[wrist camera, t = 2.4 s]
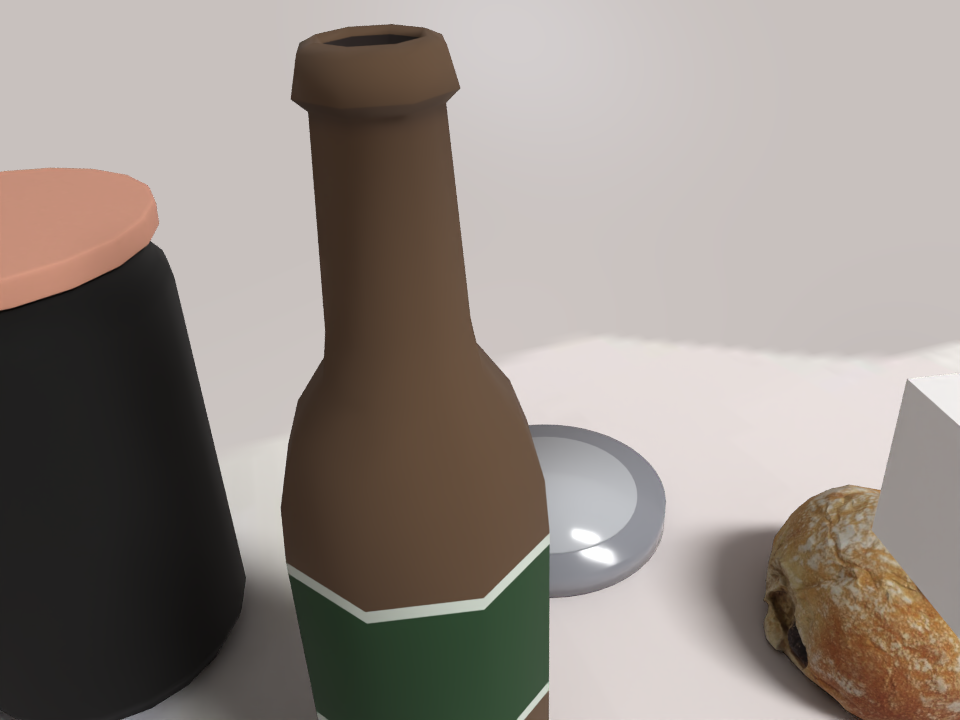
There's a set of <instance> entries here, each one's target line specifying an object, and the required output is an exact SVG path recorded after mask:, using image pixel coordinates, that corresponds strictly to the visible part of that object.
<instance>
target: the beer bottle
mask: <svg viewBox="0 0 960 720" xmlns="http://www.w3.org/2000/svg"><path fill="white" fill-rule="evenodd" d="M459 89H460V85H459V82H458V79H457V76H456V73H455V69H454V66H453V63H452V60H451V56H450V53H449V50H448V47H447V44H446V42H445V40H444V38H443V36H442V34H440V33H437V32H435V31H432V30H429V29H427V28H423V27H413V26H403V25H393V24H389V25H372V26H356V27H346V28H341V29H337V30H333V31H328V32H323V33H319V34H315V35H313V36H312V37H310V38H308V39H306V40H304V41H302V42H301V43H300V44H299V47H298V50H297V53H296V59H295V68H294V76H293V84H292V93H291V100H292V101H294V102H295V103H297V104H298V105H299V106H301V107H302V108H303V109H305V110H306V111H308V116H309V129H310V142H311V154H312V167H313V180H314V191H315V192H314V193H315V205H316V219H317V231H318V243H319V256H320V270H321V283H322V295H323V308H324V321H325V350H324V358H323V360H322V361H321V363H320V365H319V367H318V368H317V370H316V371H315V373H314V375H313V376H312V378H311V380H310V381H309V383H308V385H307V387H306V389H305V390H304V391H303V393H302V395H301V397H300V398H299V400H298V403H297V407H296V412H295V416H294V421H293V425H292V430H291V434H290V439H289V443H288V451H287V460H286V468H285V477H284V485H283V494H282V502H281V516H282V526H283V536H284V546H285V556H286V564H287V569H288V574H289V579H290V584H291V589H292V594H293V599H294V604H295V609H296V614H297V618H298V623H299V628H300V633H301V638H302V643H303V648H304V653H305V658H306V663H307V668H308V672H309V677H310V682H311V687H312V692H313V697H314V702H315V707H316V712H317V717H318V720H549V574H550V530H549V519H548V509H547V498H546V487H545V479H544V476H543V472H542V469H541V466H540V462H539V459H538V456H537V452H536V449H535V446H534V442H533V439H532V436H531V432H530V429H529V426H528V423H527V419H526V417H525V415H524V412H523V410H522V408H521V405H520V403H519V401H518V398H517V396H516V394H515V391H514V389H513V387H512V385H511V382H510V380H509V379H508V378H507V377H506V375H505V374H504V373H503V372H502V371H501V370H500V369H499V368H498V366H497V365H496V364H495V363H494V362H493V361H492V360H491V358H490V357H489V356H488V355H487V354H486V353H485V352H484V351H483V349H482V348H481V347H480V346H479V345H478V344H477V343H476V339H475V335H474V331H473V327H472V322H471V318H470V309H469V301H468V292H467V283H466V274H465V266H464V257H463V248H462V240H461V231H460V222H459V212H458V204H457V195H456V186H455V178H454V169H453V160H452V151H451V142H450V134H449V125H448V116H447V107H446V102H447V101H448V100H449V99H450V98H451V97H452V96H453V95H454V94H455V93H456V92H457V91H458V90H459Z"/></svg>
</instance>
